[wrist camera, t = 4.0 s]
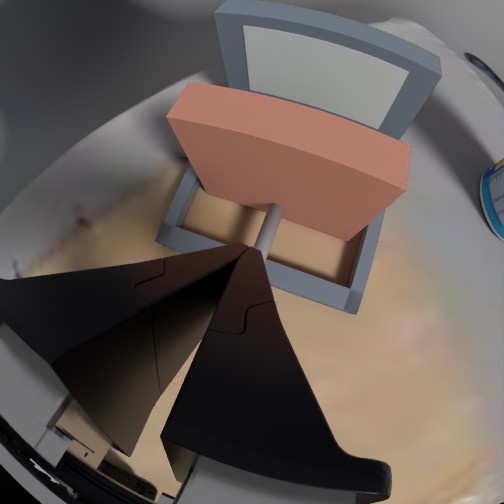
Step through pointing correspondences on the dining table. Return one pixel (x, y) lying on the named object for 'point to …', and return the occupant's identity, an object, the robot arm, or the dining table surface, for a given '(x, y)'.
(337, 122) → the sliding jaw
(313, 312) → the dining table surface
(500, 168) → the beverage bottle
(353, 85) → the vise body
